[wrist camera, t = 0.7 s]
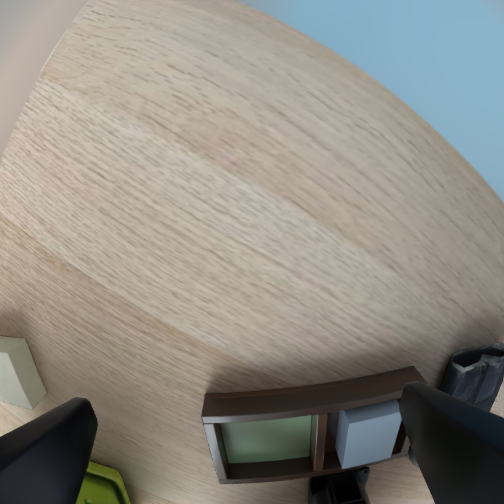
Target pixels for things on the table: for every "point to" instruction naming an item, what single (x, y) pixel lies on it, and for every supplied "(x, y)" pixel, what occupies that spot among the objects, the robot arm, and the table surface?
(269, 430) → the shallow rectangular tray
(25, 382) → the cream rectangular block
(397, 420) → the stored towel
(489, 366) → the electronic device
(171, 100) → the table surface
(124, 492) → the flower pot
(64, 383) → the table surface
